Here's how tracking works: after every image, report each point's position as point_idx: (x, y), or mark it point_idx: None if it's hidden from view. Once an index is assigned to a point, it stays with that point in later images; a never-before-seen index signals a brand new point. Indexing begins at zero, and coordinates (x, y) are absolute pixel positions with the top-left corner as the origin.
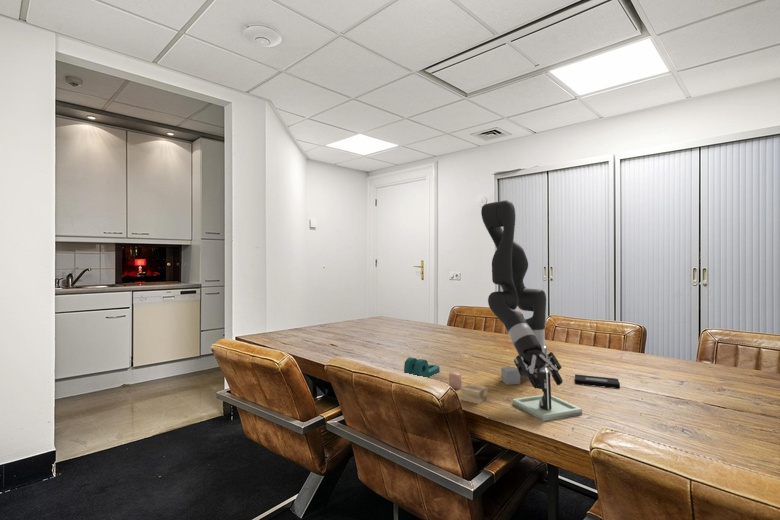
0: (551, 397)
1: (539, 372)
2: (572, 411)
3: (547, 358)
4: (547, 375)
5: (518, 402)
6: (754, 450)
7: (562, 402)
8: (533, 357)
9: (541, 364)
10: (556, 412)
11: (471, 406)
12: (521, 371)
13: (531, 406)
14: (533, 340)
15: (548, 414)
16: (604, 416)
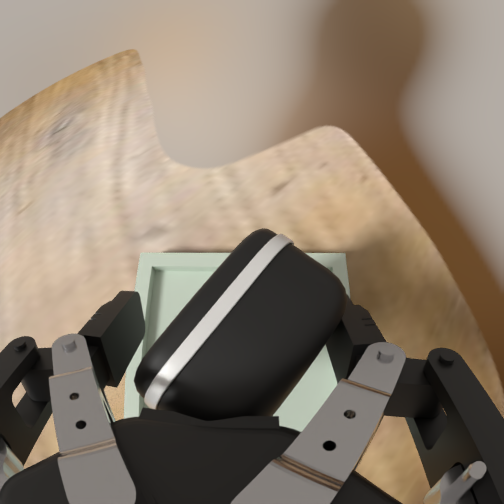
0: None
1: (337, 287)
2: (190, 255)
3: (13, 474)
4: (284, 236)
5: None
6: (74, 79)
7: (143, 352)
8: (305, 500)
9: (183, 424)
10: None
11: None
12: (434, 424)
13: (308, 385)
14: None
15: (318, 253)
16: (103, 223)
